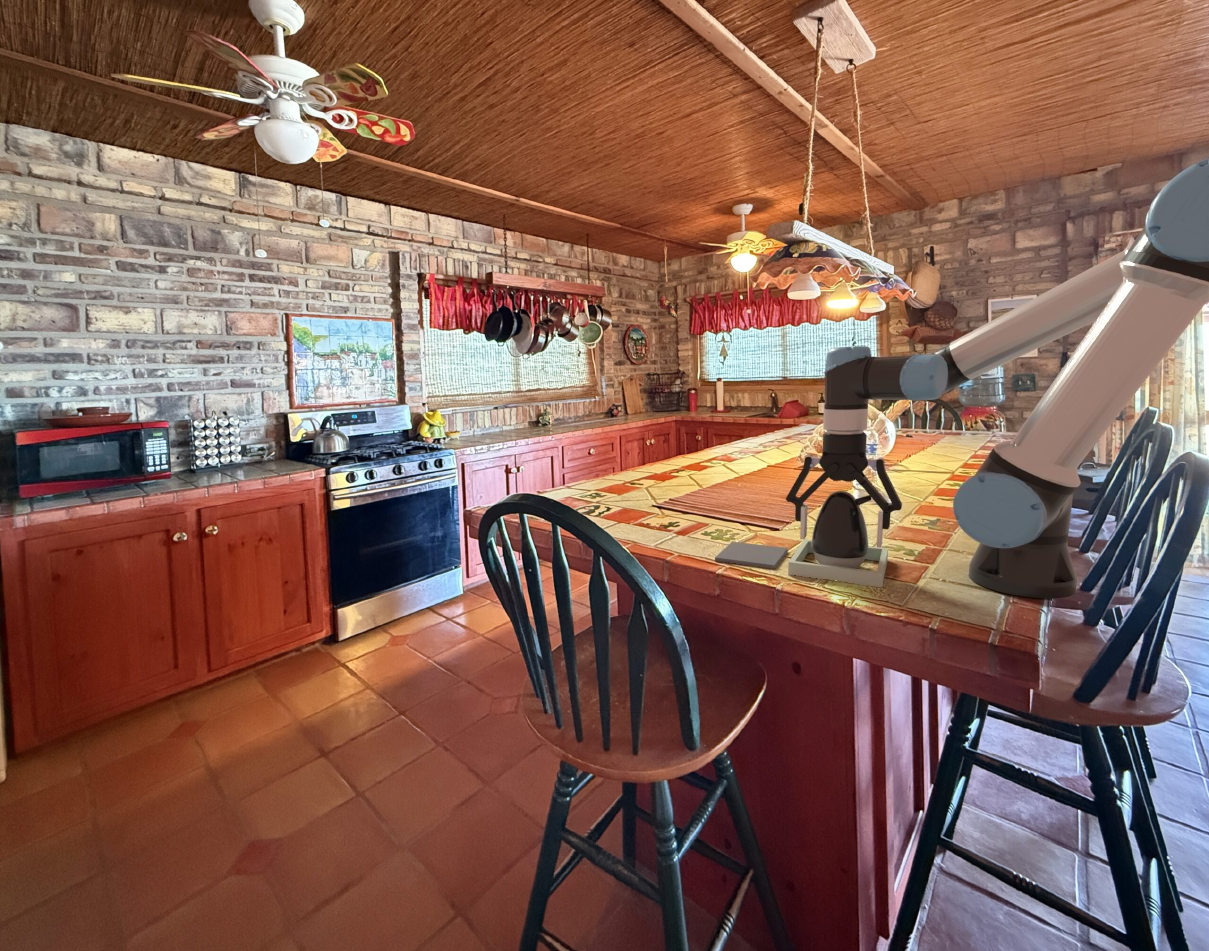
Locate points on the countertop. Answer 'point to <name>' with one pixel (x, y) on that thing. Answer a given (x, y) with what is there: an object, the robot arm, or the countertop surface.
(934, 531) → the countertop surface
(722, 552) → the mat
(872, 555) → the gray rectangular frame
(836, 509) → the pump dispenser
